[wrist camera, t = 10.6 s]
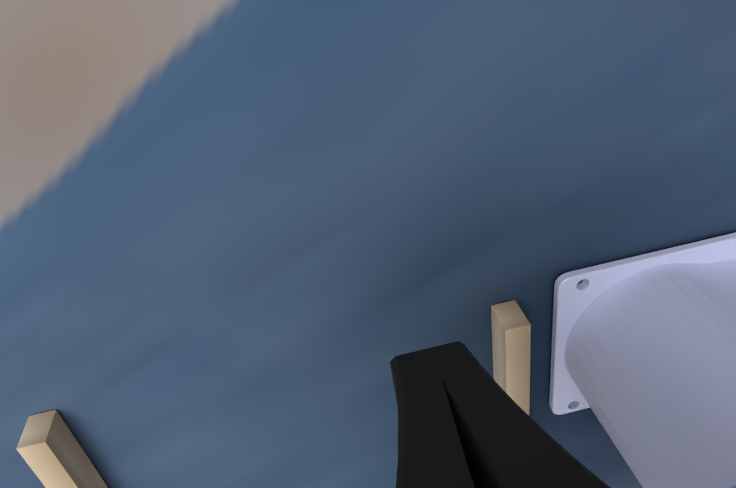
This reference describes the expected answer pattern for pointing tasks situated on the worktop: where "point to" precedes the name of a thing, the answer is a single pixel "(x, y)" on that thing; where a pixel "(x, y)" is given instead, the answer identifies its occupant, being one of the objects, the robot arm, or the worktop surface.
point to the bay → (84, 484)
